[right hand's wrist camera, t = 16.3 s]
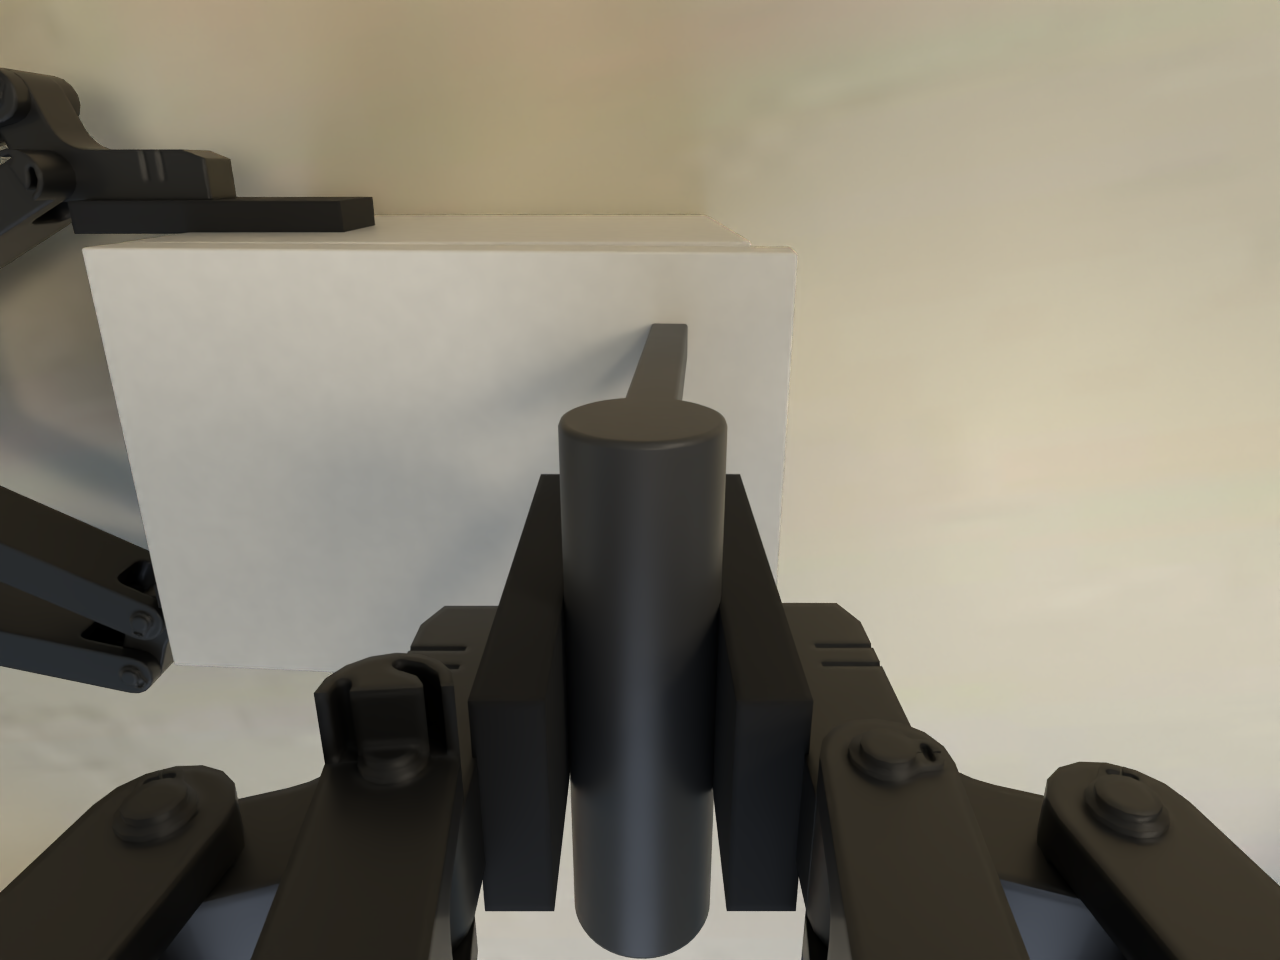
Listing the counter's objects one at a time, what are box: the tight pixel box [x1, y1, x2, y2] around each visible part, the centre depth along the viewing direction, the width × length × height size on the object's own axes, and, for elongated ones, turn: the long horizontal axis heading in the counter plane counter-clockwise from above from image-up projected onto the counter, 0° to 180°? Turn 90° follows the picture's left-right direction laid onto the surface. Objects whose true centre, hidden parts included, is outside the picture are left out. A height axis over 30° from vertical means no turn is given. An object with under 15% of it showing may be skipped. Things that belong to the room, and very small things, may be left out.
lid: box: [82, 242, 798, 959], centre depth 15 cm, size 14×10×9 cm
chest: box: [127, 215, 751, 247], centre depth 25 cm, size 13×10×11 cm
